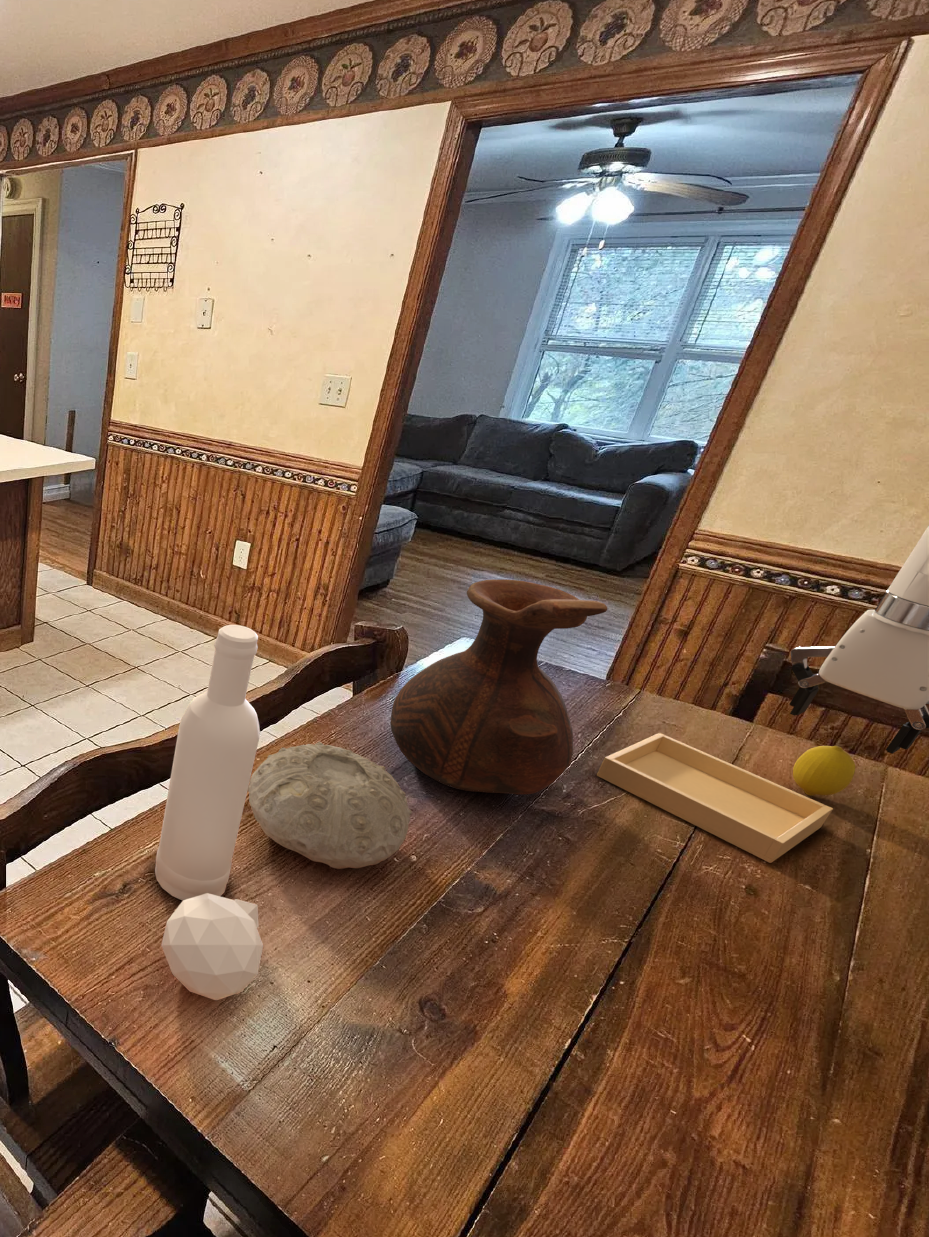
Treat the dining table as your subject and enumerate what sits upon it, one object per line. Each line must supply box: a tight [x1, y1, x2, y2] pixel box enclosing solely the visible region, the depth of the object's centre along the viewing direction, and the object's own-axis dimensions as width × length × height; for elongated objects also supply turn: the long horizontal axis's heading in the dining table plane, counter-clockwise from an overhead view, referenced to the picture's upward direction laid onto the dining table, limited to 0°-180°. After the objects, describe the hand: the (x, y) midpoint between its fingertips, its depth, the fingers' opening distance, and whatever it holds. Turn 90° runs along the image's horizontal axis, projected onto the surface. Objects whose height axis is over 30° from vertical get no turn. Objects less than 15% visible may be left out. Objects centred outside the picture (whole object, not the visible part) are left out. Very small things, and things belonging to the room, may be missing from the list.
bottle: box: [154, 624, 261, 901], centre depth 76 cm, size 8×8×30 cm
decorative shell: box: [247, 741, 413, 870], centre depth 88 cm, size 18×18×10 cm
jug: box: [390, 578, 608, 795], centre depth 98 cm, size 22×22×30 cm
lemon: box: [792, 745, 856, 797], centre depth 102 cm, size 6×6×8 cm
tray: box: [596, 732, 834, 864], centre depth 100 cm, size 20×16×3 cm
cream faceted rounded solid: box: [160, 893, 264, 1001], centre depth 69 cm, size 9×9×12 cm
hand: (842, 731), depth 99 cm, fingers open, 9 cm apart
